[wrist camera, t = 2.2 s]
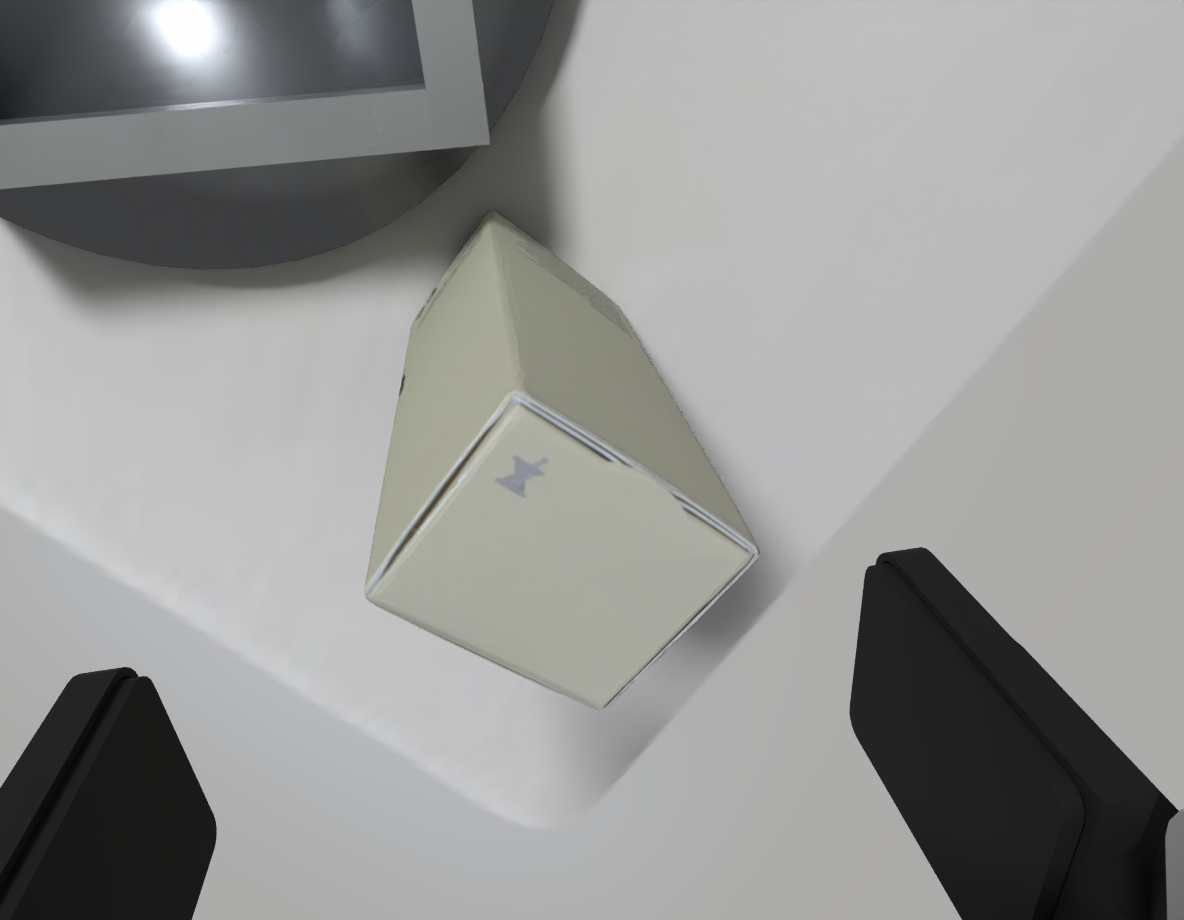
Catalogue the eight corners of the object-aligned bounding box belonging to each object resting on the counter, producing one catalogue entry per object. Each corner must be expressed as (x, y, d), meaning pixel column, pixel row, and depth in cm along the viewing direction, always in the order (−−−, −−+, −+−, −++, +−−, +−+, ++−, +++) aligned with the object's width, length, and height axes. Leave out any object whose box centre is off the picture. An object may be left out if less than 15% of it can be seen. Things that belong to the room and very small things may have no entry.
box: (406, 324, 23) (329, 597, 11) (493, 201, 21) (502, 375, 10) (549, 418, 25) (602, 729, 13) (636, 311, 23) (776, 557, 12)
